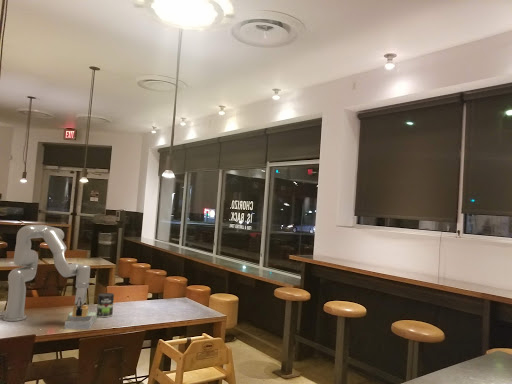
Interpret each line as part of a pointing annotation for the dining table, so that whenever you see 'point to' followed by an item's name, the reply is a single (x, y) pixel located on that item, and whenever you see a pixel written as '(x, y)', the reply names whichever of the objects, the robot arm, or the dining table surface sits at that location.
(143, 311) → the dining table surface
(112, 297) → the coffee can
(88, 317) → the clear square container
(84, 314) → the chute block
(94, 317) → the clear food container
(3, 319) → the robot arm
